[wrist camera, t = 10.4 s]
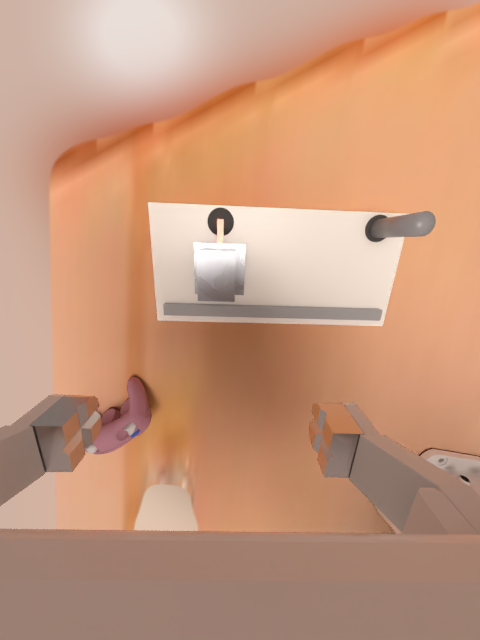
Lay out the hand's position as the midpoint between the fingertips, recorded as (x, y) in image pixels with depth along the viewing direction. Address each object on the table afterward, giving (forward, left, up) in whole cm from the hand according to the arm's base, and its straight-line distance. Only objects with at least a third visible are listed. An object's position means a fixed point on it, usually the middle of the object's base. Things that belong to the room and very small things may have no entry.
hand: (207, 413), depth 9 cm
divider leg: (0, -5, -17) cm, 18 cm away
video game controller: (+14, +15, -20) cm, 29 cm away
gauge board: (-6, -4, -20) cm, 21 cm away
